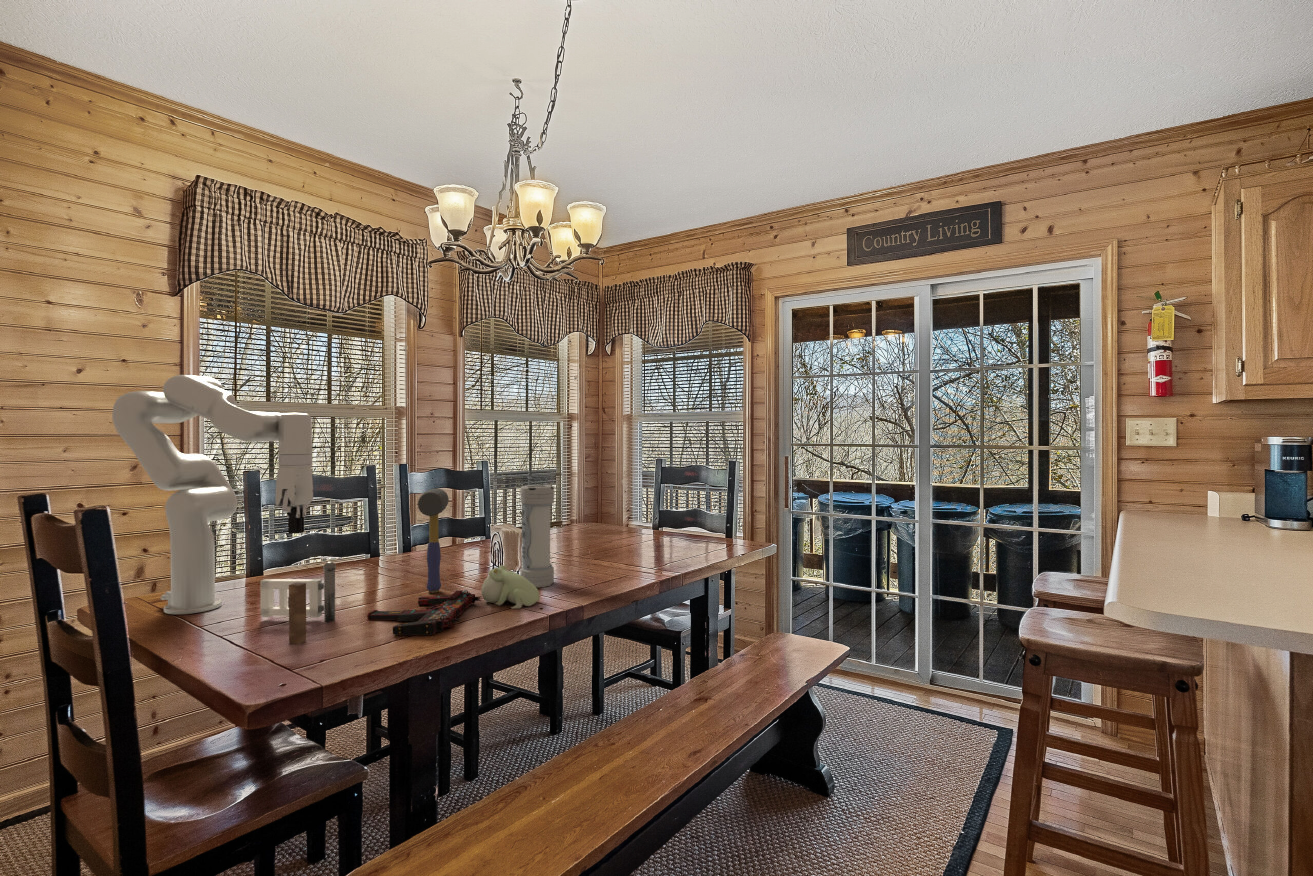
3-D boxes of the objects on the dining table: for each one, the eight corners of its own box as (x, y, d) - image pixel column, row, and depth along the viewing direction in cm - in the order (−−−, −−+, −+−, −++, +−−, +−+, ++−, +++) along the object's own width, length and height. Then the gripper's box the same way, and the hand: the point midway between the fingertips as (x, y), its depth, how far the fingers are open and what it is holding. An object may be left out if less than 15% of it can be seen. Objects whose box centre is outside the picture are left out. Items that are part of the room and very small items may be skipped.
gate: (265, 615, 166) (265, 579, 166) (324, 615, 166) (324, 579, 166) (260, 617, 164) (260, 581, 164) (320, 617, 164) (320, 581, 164)
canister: (515, 587, 200) (515, 487, 199) (527, 579, 210) (527, 484, 209) (547, 588, 198) (547, 488, 197) (558, 581, 208) (558, 485, 207)
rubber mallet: (443, 597, 188) (443, 490, 187) (416, 598, 187) (415, 491, 186) (450, 586, 200) (450, 486, 200) (424, 587, 199) (424, 487, 199)
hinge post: (320, 621, 164) (320, 562, 163) (328, 618, 166) (328, 560, 166) (331, 622, 163) (330, 563, 163) (338, 619, 166) (338, 560, 166)
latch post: (287, 643, 148) (287, 585, 147) (295, 640, 150) (294, 582, 150) (298, 644, 147) (298, 585, 147) (306, 640, 149) (306, 583, 149)
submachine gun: (400, 588, 187) (489, 584, 188) (401, 602, 188) (490, 597, 188) (343, 625, 153) (452, 619, 153) (344, 641, 153) (453, 636, 153)
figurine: (492, 596, 189) (492, 561, 189) (545, 601, 185) (545, 565, 185) (472, 606, 179) (472, 568, 179) (528, 610, 175) (528, 572, 175)
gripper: (296, 459, 178) (297, 528, 178) (263, 463, 163) (264, 537, 163) (324, 459, 178) (325, 528, 178) (294, 462, 163) (295, 537, 163)
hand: (296, 532), depth 171 cm, fingers closed
